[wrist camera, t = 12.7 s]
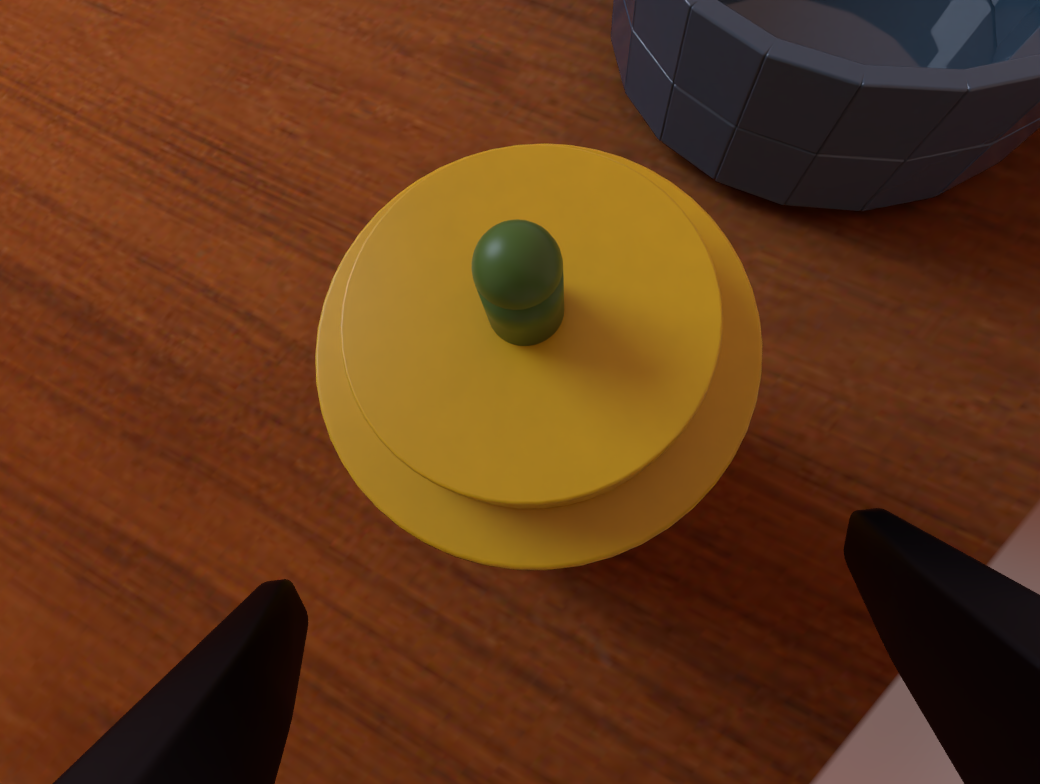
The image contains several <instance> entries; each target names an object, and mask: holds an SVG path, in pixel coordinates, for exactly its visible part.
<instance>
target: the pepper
mask: <svg viewBox="0 0 1040 784" xmlns="http://www.w3.org/2000/svg"><path fill="white" fill-rule="evenodd" d="M762 346H763V345H762V336H761V326H760V317H759V313H758V309H757V305H756V301H755V297H754V293H753V289H752V287H751V284H750V282H749V279H748V277H747V274H746V272H745V270H744V267H743V265H742V262H741V261H740V259H739V257H738V255H737V254H736V252H735V250H734V249H733V247H732V245H731V243H730V242H729V240H728V238H727V237H726V236H725V234H724V233H723V232H722V231H721V229H720V228H719V227H718V225H717V224H716V223H715V221H714V220H713V219H712V218H711V216H710V215H709V214H708V213H706V212H705V211H704V210H703V209H702V208H701V207H700V206H699V205H698V204H697V203H696V202H695V201H694V200H693V199H692V198H691V197H690V196H689V195H687V194H686V193H685V192H683V191H682V190H681V189H680V188H678V187H677V186H676V185H674V184H673V183H672V182H670V181H669V180H667V179H665V178H664V177H662V176H660V175H658V174H657V173H655V172H653V171H652V170H650V169H648V168H646V167H644V166H642V165H639V164H637V163H635V162H632V161H630V160H628V159H625V158H623V157H620V156H617V155H613V154H610V153H606V152H603V151H600V150H596V149H590V148H584V147H579V146H573V145H560V144H527V145H515V146H509V147H503V148H497V149H491V150H488V151H484V152H481V153H477V154H474V155H471V156H467V157H464V158H462V159H459V160H457V161H455V162H452V163H450V164H447V165H445V166H443V167H440V168H439V169H437V170H435V171H433V172H431V173H430V174H428V175H426V176H424V177H422V178H421V179H419V180H417V181H416V182H415V183H413V184H412V185H410V186H409V187H408V188H406V189H405V190H403V191H402V192H401V193H399V194H398V195H396V196H395V197H394V198H393V199H392V200H391V201H390V202H389V203H388V204H386V205H385V206H384V207H383V208H382V209H381V210H380V211H379V212H378V213H377V214H376V215H375V216H374V217H373V218H372V219H371V221H370V222H369V223H368V224H367V225H366V226H365V227H364V229H363V230H362V231H361V232H360V233H359V235H358V236H357V238H356V239H355V241H354V242H353V244H352V245H351V246H350V248H349V249H348V251H347V252H346V254H345V256H344V257H343V259H342V261H341V263H340V265H339V267H338V269H337V271H336V273H335V275H334V277H333V279H332V282H331V284H330V287H329V290H328V293H327V295H326V298H325V301H324V304H323V308H322V313H321V317H320V321H319V326H318V332H317V343H316V353H315V361H316V384H317V390H318V395H319V401H320V407H321V412H322V415H323V418H324V421H325V424H326V427H327V430H328V433H329V437H330V439H331V441H332V443H333V445H334V447H335V449H336V451H337V453H338V455H339V458H340V460H341V462H342V463H343V465H344V466H345V468H346V469H347V471H348V472H349V474H350V475H351V477H352V478H353V480H354V481H355V483H356V484H357V486H358V487H359V488H360V489H361V491H362V492H363V493H364V494H365V495H366V496H367V497H368V498H369V499H370V501H371V502H372V503H373V504H374V505H375V506H376V507H377V508H378V509H379V510H380V511H381V512H382V513H384V514H385V515H386V516H387V517H388V518H389V519H391V520H392V521H393V522H394V523H395V524H397V525H398V526H399V527H400V528H402V529H403V530H405V531H406V532H408V533H410V534H411V535H413V536H414V537H416V538H418V539H419V540H421V541H422V542H424V543H426V544H428V545H430V546H432V547H434V548H436V549H439V550H441V551H443V552H445V553H448V554H450V555H452V556H454V557H458V558H461V559H465V560H468V561H472V562H475V563H478V564H482V565H486V566H493V567H500V568H507V569H513V570H553V569H561V568H568V567H576V566H582V565H586V564H589V563H593V562H597V561H600V560H604V559H608V558H611V557H614V556H616V555H618V554H621V553H623V552H625V551H628V550H630V549H632V548H635V547H637V546H639V545H642V544H643V543H645V542H647V541H648V540H650V539H652V538H653V537H655V536H657V535H658V534H660V533H662V532H663V531H665V530H667V529H668V528H670V527H671V526H672V525H673V524H675V523H676V522H677V521H678V520H680V519H681V518H682V517H683V516H684V515H686V514H687V513H688V512H689V511H691V510H692V509H693V508H694V507H695V506H696V505H697V504H698V503H699V502H700V501H701V500H702V499H703V497H704V496H705V495H706V494H707V493H708V492H709V491H710V490H711V489H712V488H713V487H714V486H715V484H716V483H717V482H718V480H719V479H720V477H721V476H722V474H723V473H724V472H725V470H726V469H727V467H728V466H729V464H730V463H731V461H732V460H733V458H734V456H735V454H736V452H737V450H738V448H739V446H740V444H741V442H742V440H743V438H744V436H745V434H746V432H747V430H748V427H749V424H750V421H751V418H752V415H753V412H754V409H755V406H756V402H757V397H758V391H759V386H760V380H761V374H762Z"/></svg>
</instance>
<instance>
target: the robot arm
mask: <svg viewBox="0 0 1040 784" xmlns="http://www.w3.org/2000/svg"><path fill="white" fill-rule="evenodd" d="M844 556H845V560H846V563H847V566H848V568H849V570H850V572H851V575H852V577H853V579H854V581H855V583H856V585H857V588H858V590H859V592H860V594H861V596H862V598H863V601H864V603H865V605H866V607H867V609H868V611H869V614H870V616H871V618H872V620H873V622H874V625H875V627H876V629H877V631H878V633H879V635H880V638H881V640H882V642H883V644H884V646H885V648H886V650H887V652H888V654H889V656H890V658H891V660H892V662H893V663H894V665H895V667H896V669H897V670H898V672H899V674H900V676H901V677H902V679H903V681H904V682H905V684H906V686H907V687H908V689H909V691H910V693H911V694H912V696H913V698H914V699H915V701H916V702H917V704H918V706H919V708H920V710H921V711H922V713H923V714H924V716H925V718H926V719H927V721H928V723H929V725H930V726H931V728H932V730H933V731H934V733H935V735H936V736H937V738H938V740H939V742H940V743H941V745H942V747H943V748H944V750H945V752H946V753H947V755H948V757H949V759H950V760H951V762H952V764H953V765H954V767H955V769H956V770H957V772H958V774H959V775H960V777H961V779H962V781H963V782H964V784H1040V595H1039V594H1037V593H1035V592H1033V591H1031V590H1030V589H1028V588H1026V587H1024V586H1022V585H1021V584H1019V583H1017V582H1015V581H1014V580H1012V579H1010V578H1008V577H1006V576H1005V575H1002V574H1001V573H999V572H997V571H995V570H994V569H992V568H990V567H988V566H986V565H985V564H983V563H981V562H979V561H977V560H976V559H974V558H972V557H970V556H968V555H966V554H965V553H963V552H961V551H959V550H957V549H956V548H954V547H952V546H950V545H948V544H947V543H945V542H943V541H941V540H939V539H937V538H936V537H934V536H932V535H930V534H928V533H927V532H925V531H923V530H921V529H919V528H917V527H916V526H914V525H912V524H910V523H908V522H907V521H905V520H903V519H901V518H899V517H898V516H896V515H894V514H892V513H890V512H888V511H886V510H884V509H881V508H873V509H865V510H857V511H854V512H853V513H852V514H851V516H850V519H849V524H848V529H847V534H846V539H845V545H844ZM307 629H308V615H307V611H306V609H305V607H304V605H303V603H302V601H301V599H300V597H299V595H298V593H297V591H296V589H295V587H294V585H293V583H292V582H291V581H289V580H286V579H283V580H275V581H267V582H264V583H262V584H261V585H260V586H258V587H257V588H256V589H255V590H254V591H253V592H252V593H251V594H250V595H249V596H248V597H247V598H246V599H245V600H244V601H243V602H242V603H241V604H240V605H239V606H238V607H237V608H235V609H234V610H233V611H232V612H231V613H230V614H229V615H228V616H227V617H226V618H225V619H224V620H223V621H222V622H221V623H220V624H219V625H218V626H217V627H216V628H215V629H214V630H213V631H211V632H210V633H209V634H208V635H207V636H206V637H205V638H204V639H203V640H202V641H201V642H200V643H199V644H198V645H197V646H196V647H195V648H194V649H193V650H192V651H191V652H190V653H189V654H187V655H186V656H185V657H184V658H183V659H182V660H181V661H180V662H179V663H178V664H177V665H176V666H175V667H174V668H173V669H172V670H171V671H170V672H169V673H168V674H167V675H166V676H165V677H163V678H162V679H161V680H160V681H159V682H158V683H157V684H156V685H155V686H154V687H153V688H152V689H151V690H150V691H149V692H148V693H147V694H146V695H145V696H144V697H143V698H142V699H141V700H139V701H138V702H137V703H136V704H135V705H134V706H133V707H132V708H131V709H130V710H129V711H128V712H127V713H126V714H125V715H124V716H123V717H122V718H121V719H120V720H119V721H118V722H117V723H115V724H114V725H113V726H112V727H111V728H110V729H109V730H108V731H107V732H106V733H105V734H104V735H103V736H102V737H101V738H100V739H99V740H98V741H97V742H96V743H95V744H94V745H93V746H92V747H90V748H89V749H88V750H87V751H86V752H85V753H84V754H83V755H82V756H81V757H80V758H79V759H78V760H77V761H76V762H75V763H74V764H73V765H72V766H71V767H70V768H69V769H67V770H66V771H65V772H64V773H63V774H62V775H61V776H60V777H59V778H58V779H57V780H56V781H55V782H54V783H53V784H274V783H275V780H276V776H277V773H278V769H279V765H280V762H281V758H282V754H283V751H284V747H285V744H286V740H287V736H288V732H289V728H290V724H291V720H292V715H293V710H294V705H295V699H296V694H297V688H298V682H299V676H300V670H301V664H302V658H303V652H304V646H305V640H306V635H307Z"/></svg>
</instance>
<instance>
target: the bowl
mask: <svg viewBox="0 0 1040 784" xmlns="http://www.w3.org/2000/svg"><path fill="white" fill-rule="evenodd" d="M611 41H612V45H613V48H614V52H615V56H616V60H617V64H618V67H619V71H620V75H621V79H622V83H623V86H624V90H625V93H626V94H627V96H628V97H629V99H630V100H631V101H632V103H633V104H634V106H635V107H636V108H637V110H638V111H639V113H640V114H641V115H642V117H643V118H644V120H645V121H646V122H647V124H648V125H649V127H650V128H651V129H652V131H653V132H654V134H655V135H656V136H657V138H658V139H659V140H660V141H662V142H663V143H664V144H665V145H667V146H668V147H670V148H671V149H672V150H674V151H675V152H676V153H678V154H679V155H681V156H682V157H683V158H685V159H686V160H687V161H689V162H690V163H692V164H693V165H694V166H696V167H697V168H698V169H700V170H701V171H703V172H704V173H705V174H707V175H708V176H709V177H711V178H712V179H715V181H716V182H719V183H722V184H725V185H727V186H730V187H733V188H736V189H739V190H741V191H744V192H747V193H750V194H753V195H755V196H758V197H761V198H764V199H767V200H769V201H772V202H775V203H778V204H780V205H784V204H785V205H787V206H800V207H813V208H826V209H839V210H852V211H866V210H871V209H876V208H881V207H886V206H891V205H897V204H902V203H907V202H912V201H917V200H922V199H927V198H932V197H935V196H936V195H939V194H941V193H943V192H945V191H947V190H949V189H951V188H952V187H954V186H956V185H958V184H960V183H962V182H964V181H966V180H967V179H969V178H971V177H973V176H975V175H977V174H979V173H981V172H982V171H984V170H986V169H988V168H990V167H992V166H994V165H996V164H997V163H999V162H1000V161H1001V160H1003V159H1004V158H1005V157H1006V156H1007V155H1008V154H1010V153H1011V152H1012V151H1013V150H1014V149H1015V148H1016V147H1018V146H1019V145H1020V144H1021V143H1022V142H1023V141H1025V140H1026V139H1027V138H1028V137H1029V136H1030V135H1031V134H1033V133H1034V132H1035V131H1036V130H1037V129H1038V128H1040V0H614V3H613V16H612V28H611Z"/></svg>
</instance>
